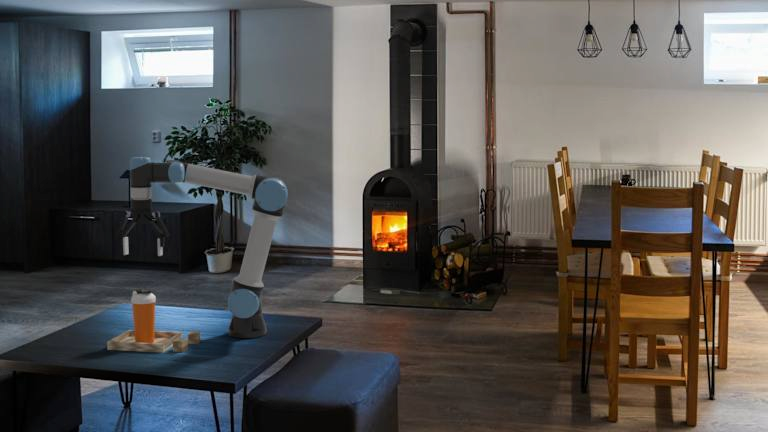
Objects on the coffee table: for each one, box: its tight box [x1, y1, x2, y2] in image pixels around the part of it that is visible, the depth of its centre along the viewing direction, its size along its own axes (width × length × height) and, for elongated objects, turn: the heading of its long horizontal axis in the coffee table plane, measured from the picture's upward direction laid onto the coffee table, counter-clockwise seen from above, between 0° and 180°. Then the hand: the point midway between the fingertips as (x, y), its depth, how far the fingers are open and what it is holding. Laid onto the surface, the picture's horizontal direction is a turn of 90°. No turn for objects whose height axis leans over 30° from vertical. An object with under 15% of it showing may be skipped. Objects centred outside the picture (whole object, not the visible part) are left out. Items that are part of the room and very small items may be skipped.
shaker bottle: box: [130, 288, 157, 343], centre depth 320 cm, size 9×9×20 cm
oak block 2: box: [187, 330, 201, 345], centre depth 324 cm, size 4×4×4 cm
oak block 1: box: [172, 337, 189, 353], centre depth 314 cm, size 4×4×4 cm
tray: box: [106, 329, 183, 353], centre depth 321 cm, size 22×18×3 cm
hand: (143, 255), depth 317 cm, fingers open, 13 cm apart
